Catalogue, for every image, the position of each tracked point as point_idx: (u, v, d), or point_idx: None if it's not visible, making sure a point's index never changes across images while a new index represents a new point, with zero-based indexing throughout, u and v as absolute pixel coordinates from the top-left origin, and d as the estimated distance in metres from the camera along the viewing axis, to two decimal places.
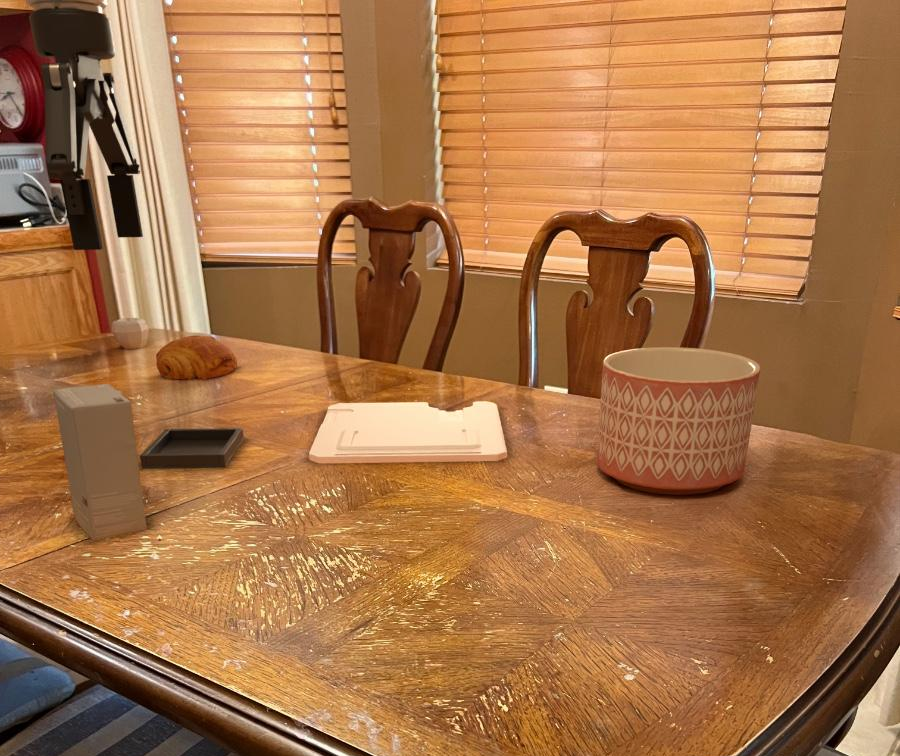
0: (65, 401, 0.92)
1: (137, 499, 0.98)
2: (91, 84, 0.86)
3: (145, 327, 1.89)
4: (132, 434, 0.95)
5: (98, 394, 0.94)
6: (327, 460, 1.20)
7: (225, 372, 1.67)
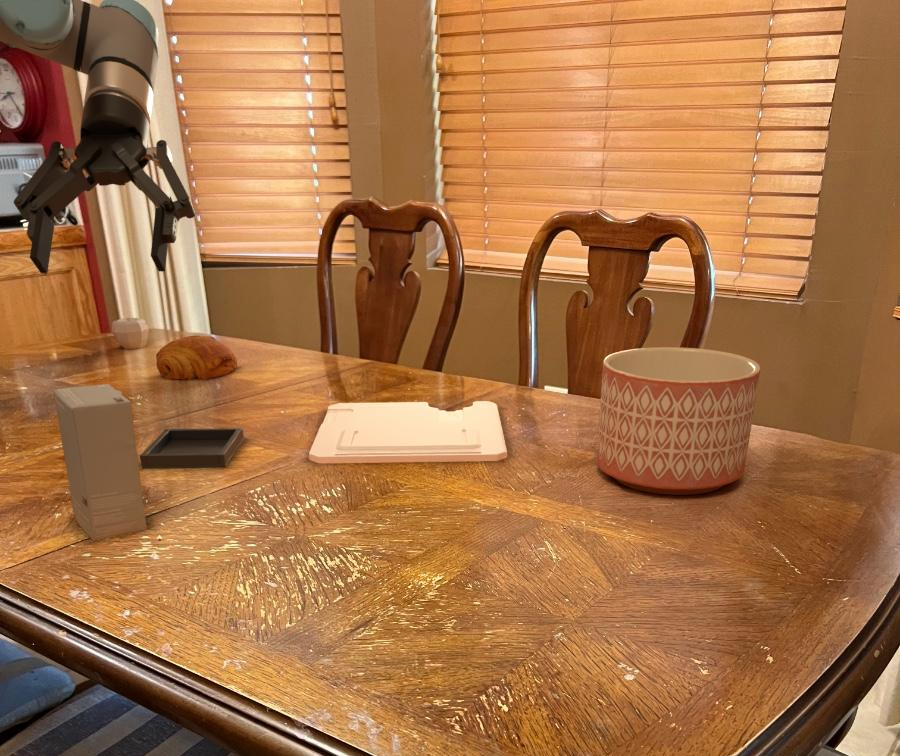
0: (65, 401, 0.92)
1: (137, 499, 0.98)
2: None
3: (145, 327, 1.89)
4: (132, 434, 0.95)
5: (98, 394, 0.94)
6: (327, 460, 1.20)
7: (225, 372, 1.67)
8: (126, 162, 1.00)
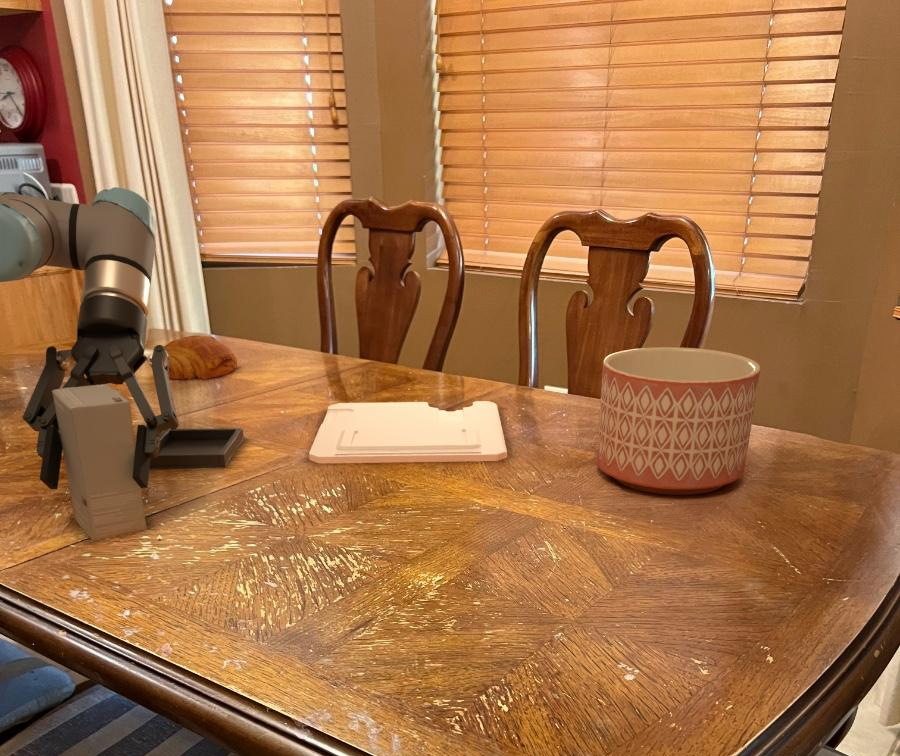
0: (64, 401, 0.92)
1: (136, 499, 0.98)
2: None
3: None
4: (131, 434, 0.95)
5: (96, 394, 0.94)
6: (327, 460, 1.20)
7: (225, 372, 1.67)
8: (119, 367, 0.98)
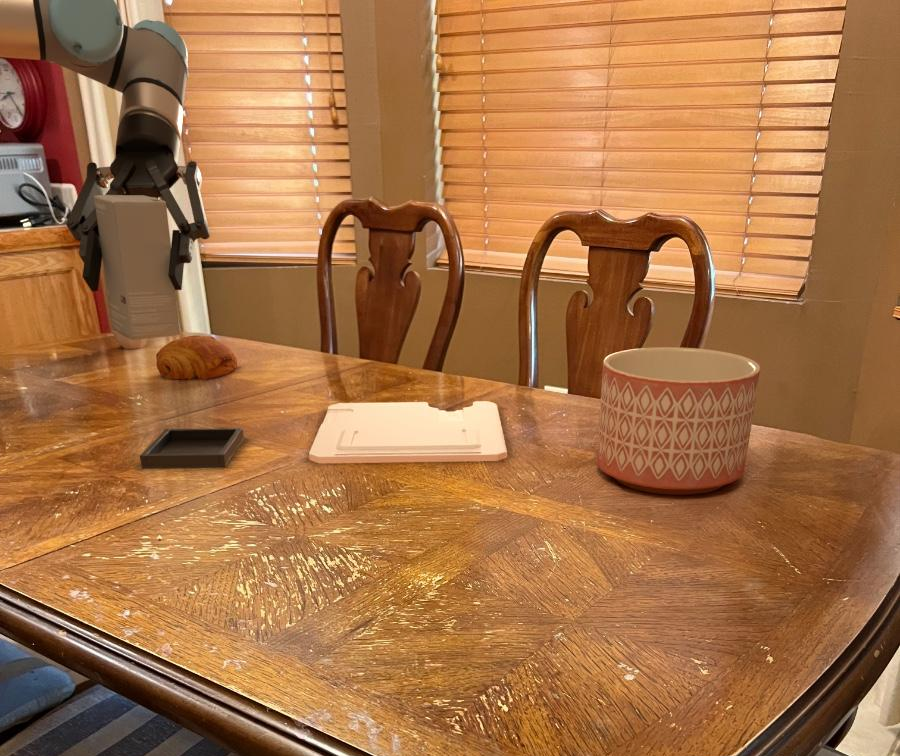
0: (106, 199, 0.99)
1: (171, 302, 1.05)
2: None
3: None
4: (167, 235, 1.02)
5: (135, 197, 1.01)
6: (327, 460, 1.20)
7: (225, 372, 1.67)
8: (155, 180, 1.05)
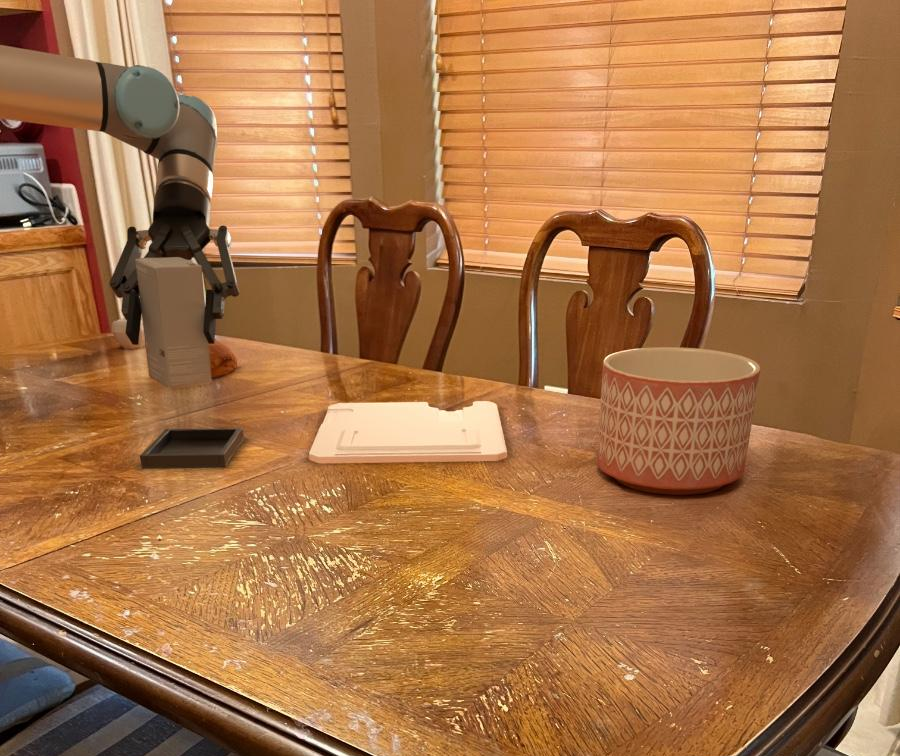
0: (148, 264, 1.10)
1: (204, 354, 1.16)
2: None
3: None
4: (202, 295, 1.13)
5: (173, 261, 1.12)
6: (327, 460, 1.20)
7: (225, 372, 1.67)
8: (190, 243, 1.16)
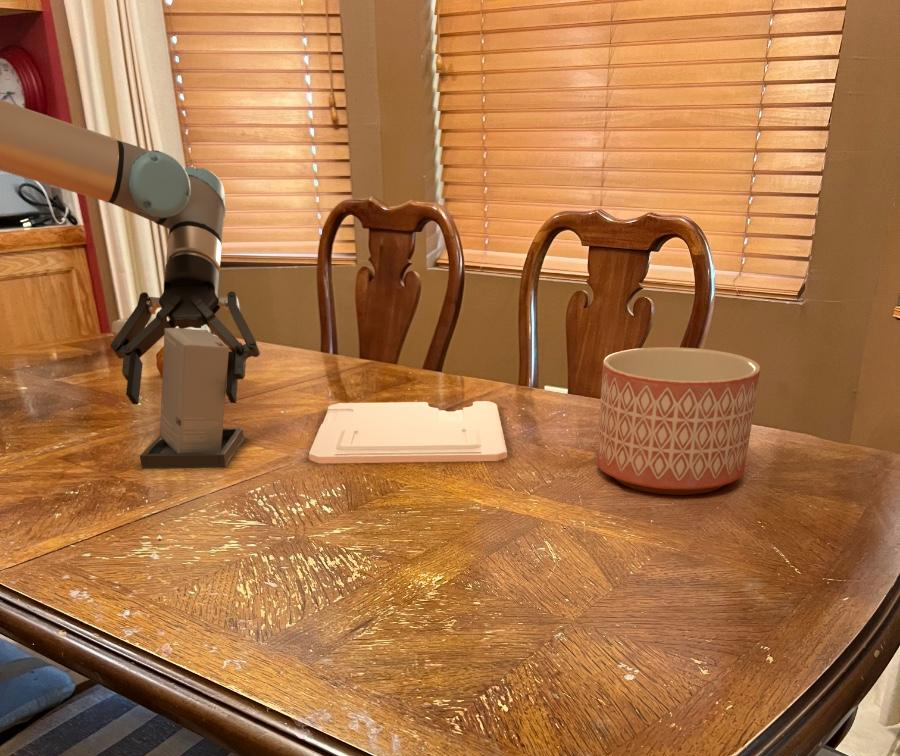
0: (177, 338, 1.14)
1: (218, 426, 1.21)
2: None
3: None
4: (225, 373, 1.17)
5: (202, 337, 1.17)
6: (327, 460, 1.20)
7: None
8: (203, 311, 1.20)
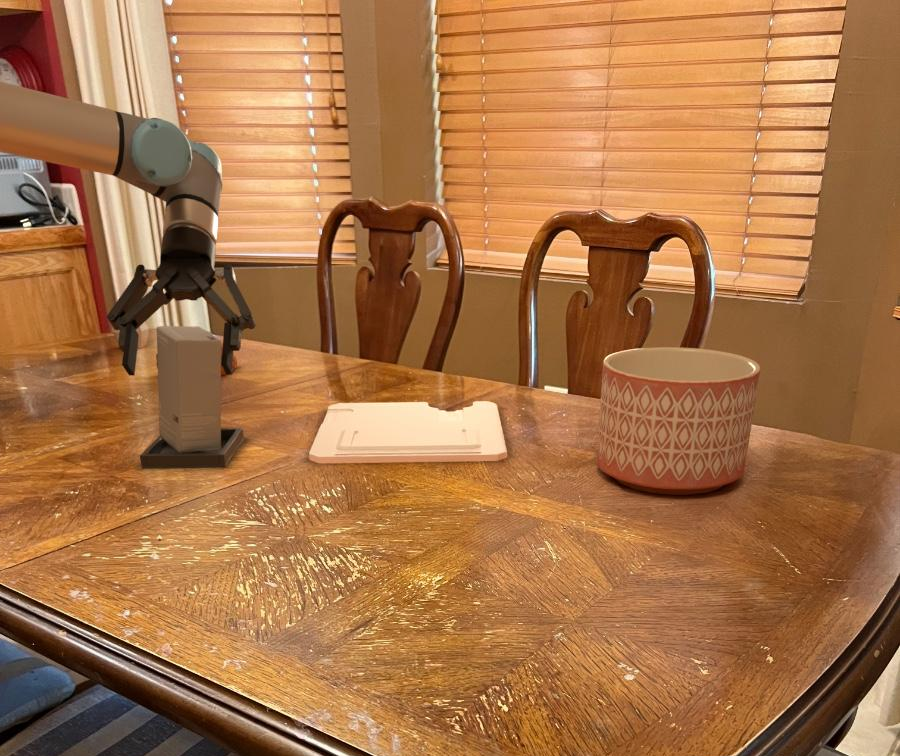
0: (169, 335, 1.14)
1: (216, 421, 1.20)
2: None
3: (145, 327, 1.89)
4: (219, 367, 1.17)
5: (193, 333, 1.17)
6: (327, 460, 1.20)
7: None
8: (199, 283, 1.21)
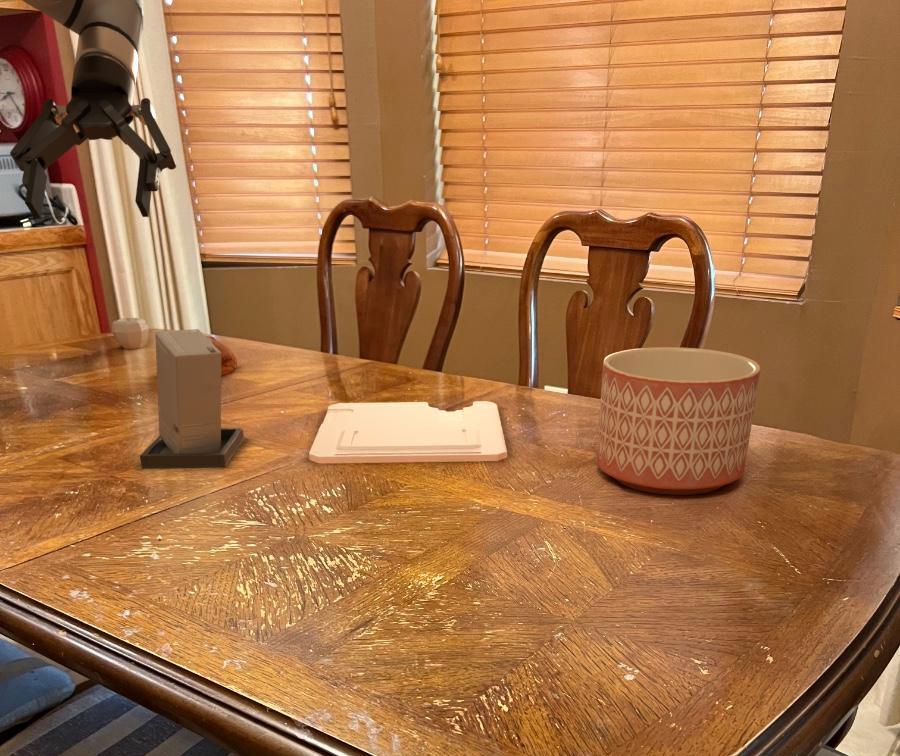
0: (168, 347, 1.12)
1: (216, 429, 1.20)
2: None
3: (145, 327, 1.89)
4: (219, 378, 1.16)
5: (193, 342, 1.14)
6: (327, 460, 1.20)
7: (225, 372, 1.67)
8: (113, 117, 1.09)
